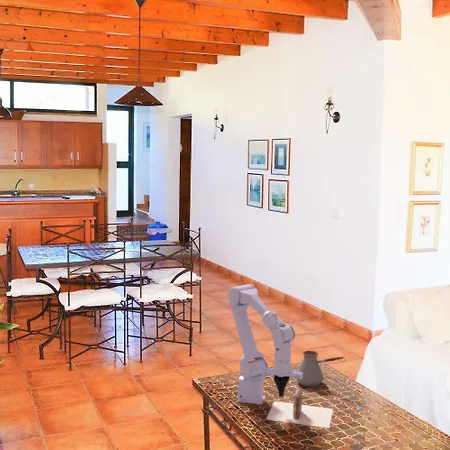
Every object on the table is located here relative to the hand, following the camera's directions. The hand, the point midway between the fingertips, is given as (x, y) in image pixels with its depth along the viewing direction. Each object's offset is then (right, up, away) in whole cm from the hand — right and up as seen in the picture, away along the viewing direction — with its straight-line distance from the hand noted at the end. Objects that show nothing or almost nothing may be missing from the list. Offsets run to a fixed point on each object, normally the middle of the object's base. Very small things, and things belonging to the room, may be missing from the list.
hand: (281, 395), depth 213 cm
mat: (+7, -7, 0) cm, 10 cm away
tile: (+6, -7, -1) cm, 9 cm away
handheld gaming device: (+23, -7, +10) cm, 26 cm away
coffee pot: (+18, -4, +27) cm, 33 cm away
